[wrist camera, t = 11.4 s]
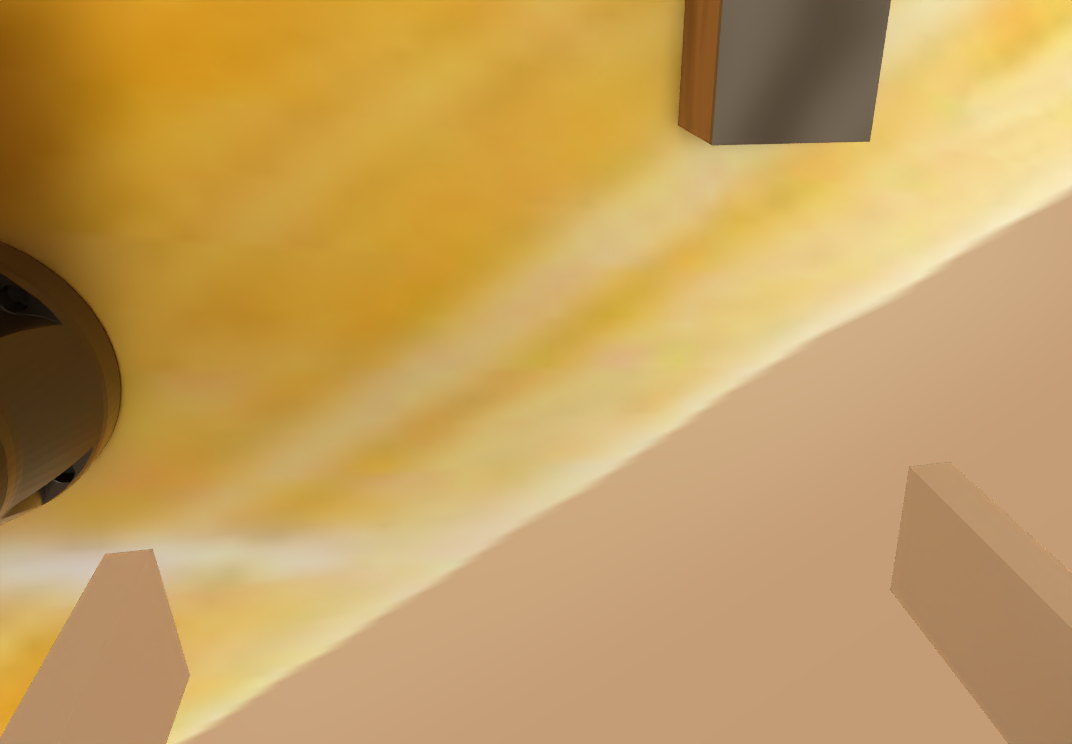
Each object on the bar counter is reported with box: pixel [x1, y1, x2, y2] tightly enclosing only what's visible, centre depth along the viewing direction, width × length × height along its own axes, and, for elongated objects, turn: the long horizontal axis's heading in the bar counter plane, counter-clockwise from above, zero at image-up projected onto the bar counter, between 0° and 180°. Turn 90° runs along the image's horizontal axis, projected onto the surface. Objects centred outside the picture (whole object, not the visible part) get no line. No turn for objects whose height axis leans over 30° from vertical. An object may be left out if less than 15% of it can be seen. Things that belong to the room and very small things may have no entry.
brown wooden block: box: [678, 0, 891, 145], centre depth 38 cm, size 7×7×6 cm
